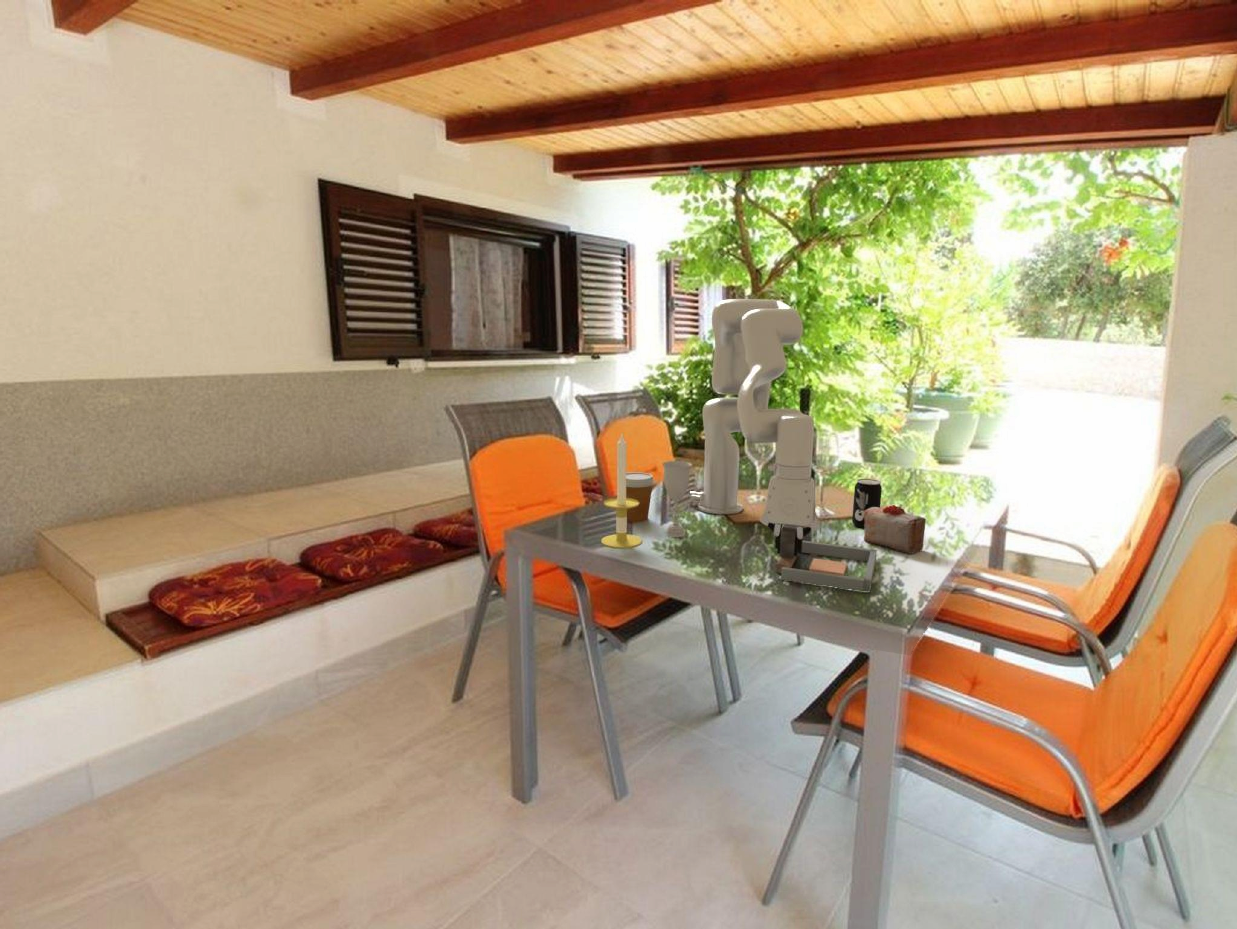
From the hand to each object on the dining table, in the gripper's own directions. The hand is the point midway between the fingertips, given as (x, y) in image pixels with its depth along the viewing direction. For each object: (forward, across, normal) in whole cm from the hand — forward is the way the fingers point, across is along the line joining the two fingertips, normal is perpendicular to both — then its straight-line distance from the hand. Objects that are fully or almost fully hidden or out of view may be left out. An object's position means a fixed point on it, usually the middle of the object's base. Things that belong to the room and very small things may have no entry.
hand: (788, 552), depth 148 cm
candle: (+3, -40, -1) cm, 40 cm away
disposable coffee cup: (+3, -43, +18) cm, 47 cm away
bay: (+3, +8, 0) cm, 9 cm away
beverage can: (+3, +14, +37) cm, 39 cm away
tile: (+3, +9, 0) cm, 9 cm away
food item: (+3, +21, +23) cm, 31 cm away
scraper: (+2, 0, 0) cm, 2 cm away
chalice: (+3, -29, +10) cm, 31 cm away
